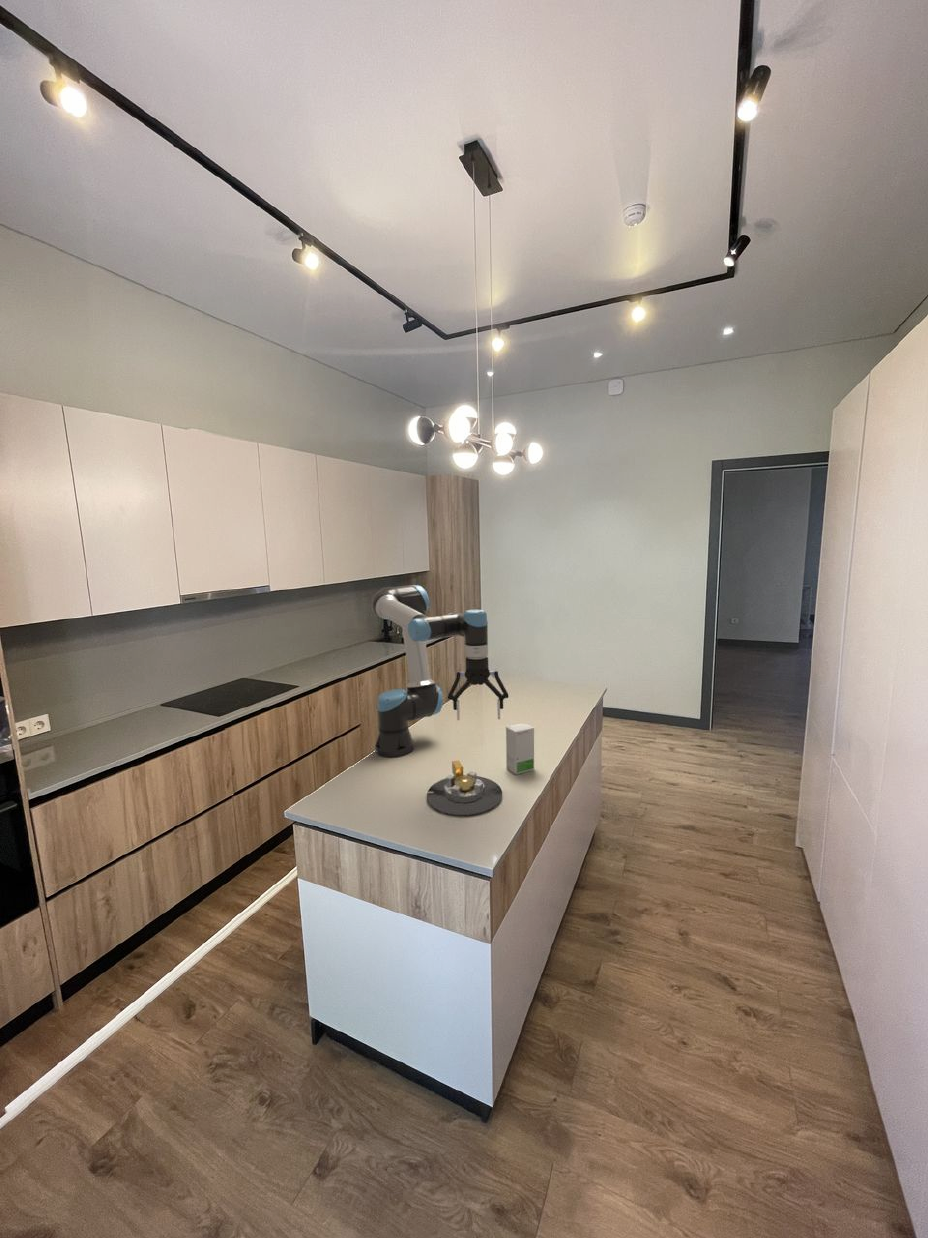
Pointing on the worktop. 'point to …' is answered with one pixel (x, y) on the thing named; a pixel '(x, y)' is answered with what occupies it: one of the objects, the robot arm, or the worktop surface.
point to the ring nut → (455, 791)
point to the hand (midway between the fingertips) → (478, 718)
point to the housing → (461, 809)
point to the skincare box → (520, 748)
